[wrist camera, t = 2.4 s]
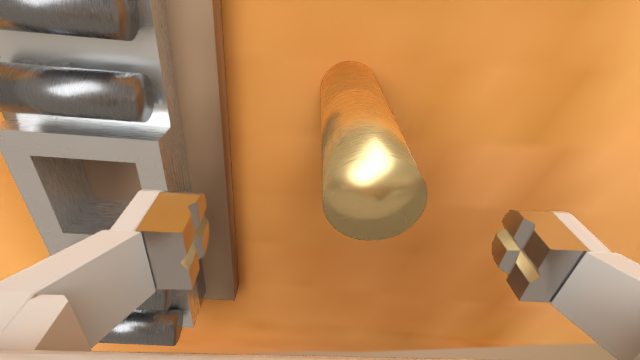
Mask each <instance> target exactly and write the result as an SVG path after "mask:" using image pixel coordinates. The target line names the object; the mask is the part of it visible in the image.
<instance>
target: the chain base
mask: <svg viewBox="0 0 640 360" xmlns="http://www.w3.org/2000/svg"><path fill="white" fill-rule="evenodd" d="M165 5H166V12H167V19H168V26H169V33H170V40H171V47H172V54H173V61H174V68H175V75H176V82H177V89H178V96H179V103H180V110H181V117H182V124H183V131H184V138H185V145H186V152H187V159H188V166H189V173H190V180H191V187H192V192H194V193H203V194H204V195H205V199H206V205H207V207H206V210H205V212H204V216H205V217H206V218H207V219H208V222H209V239H208V245H207V249H206V252H205V255H204V256H203V257H202V264H203V271H204V278H205V285H206V292H205V295H204V298H203V299H218V300H235V298H236V294H237V290H238V285H239V279H238V264H237V248H236V232H235V217H234V201H233V185H232V170H231V154H230V138H229V122H228V107H227V91H226V75H225V60H224V44H223V28H222V13H221V0H165ZM2 114H3V116H4V119H5V121H6V120H7V119H9V118H11V117H13V116H15V115H16V114H15V113H12V112H2ZM81 160H82V163H83V166H84V169H85V171H86V174H87V177H88V180H89V183H90V186H91V189H92V192H93V195H94V198H95V199H105V200H120V201H132V199H133V198H134V197H135V195H136V194H137V193H138V191H140V190H142V188H141V184H140V180H139V175H138V171H137V167H136V163H129V162H115V161H101V160H86V159H81Z"/></svg>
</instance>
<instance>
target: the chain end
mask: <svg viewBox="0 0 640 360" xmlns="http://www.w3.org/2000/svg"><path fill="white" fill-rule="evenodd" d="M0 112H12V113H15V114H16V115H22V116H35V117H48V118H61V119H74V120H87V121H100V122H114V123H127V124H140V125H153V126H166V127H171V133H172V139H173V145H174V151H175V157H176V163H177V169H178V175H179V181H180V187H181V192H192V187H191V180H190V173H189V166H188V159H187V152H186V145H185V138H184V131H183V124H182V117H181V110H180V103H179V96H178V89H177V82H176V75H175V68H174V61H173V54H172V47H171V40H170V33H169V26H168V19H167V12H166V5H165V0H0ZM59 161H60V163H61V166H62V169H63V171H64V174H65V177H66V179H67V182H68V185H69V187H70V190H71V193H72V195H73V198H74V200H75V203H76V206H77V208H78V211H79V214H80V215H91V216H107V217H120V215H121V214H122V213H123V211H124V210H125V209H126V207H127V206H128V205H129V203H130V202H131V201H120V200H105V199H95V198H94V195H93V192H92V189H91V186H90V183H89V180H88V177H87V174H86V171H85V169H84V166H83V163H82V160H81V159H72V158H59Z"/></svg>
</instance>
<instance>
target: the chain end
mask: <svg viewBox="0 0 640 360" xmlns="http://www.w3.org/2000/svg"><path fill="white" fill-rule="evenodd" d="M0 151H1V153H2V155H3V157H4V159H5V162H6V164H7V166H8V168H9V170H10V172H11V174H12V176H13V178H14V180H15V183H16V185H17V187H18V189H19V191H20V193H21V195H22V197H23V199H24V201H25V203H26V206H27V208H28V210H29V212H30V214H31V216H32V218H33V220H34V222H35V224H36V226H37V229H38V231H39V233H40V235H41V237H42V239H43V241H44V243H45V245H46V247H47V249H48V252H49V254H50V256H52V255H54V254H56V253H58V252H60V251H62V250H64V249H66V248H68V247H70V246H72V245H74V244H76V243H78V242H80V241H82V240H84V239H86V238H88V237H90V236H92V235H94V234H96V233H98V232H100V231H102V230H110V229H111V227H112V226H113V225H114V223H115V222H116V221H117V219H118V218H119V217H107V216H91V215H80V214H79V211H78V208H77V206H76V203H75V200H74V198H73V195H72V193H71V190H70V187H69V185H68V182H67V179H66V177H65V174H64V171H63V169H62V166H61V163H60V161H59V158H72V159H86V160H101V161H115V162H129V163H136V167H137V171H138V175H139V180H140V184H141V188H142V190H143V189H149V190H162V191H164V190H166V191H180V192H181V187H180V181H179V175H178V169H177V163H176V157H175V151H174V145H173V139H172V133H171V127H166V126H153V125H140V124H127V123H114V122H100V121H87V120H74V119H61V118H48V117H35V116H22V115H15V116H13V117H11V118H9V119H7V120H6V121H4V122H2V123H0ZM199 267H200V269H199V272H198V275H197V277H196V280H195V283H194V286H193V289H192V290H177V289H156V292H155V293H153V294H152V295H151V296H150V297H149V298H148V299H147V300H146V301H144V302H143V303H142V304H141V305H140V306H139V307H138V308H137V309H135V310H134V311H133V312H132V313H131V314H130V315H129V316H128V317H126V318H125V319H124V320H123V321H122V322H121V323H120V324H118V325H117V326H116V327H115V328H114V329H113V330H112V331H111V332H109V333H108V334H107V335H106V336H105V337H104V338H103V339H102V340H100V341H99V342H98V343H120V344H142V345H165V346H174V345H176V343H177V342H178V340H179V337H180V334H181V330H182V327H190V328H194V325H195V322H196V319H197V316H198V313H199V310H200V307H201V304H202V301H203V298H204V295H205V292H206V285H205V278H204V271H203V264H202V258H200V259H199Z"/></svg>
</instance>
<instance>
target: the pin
mask: <svg viewBox="0 0 640 360" xmlns="http://www.w3.org/2000/svg"><path fill="white" fill-rule="evenodd" d="M321 132H322V181H323V208H324V212H325V215H326V217H327V219H328V221H329V222H330V223H331V225H332V226H333V227H334V228H335V229H337V230H338V231H339V232H341V233H343V234H344V235H347V236H349V237H352V238H355V239H359V240H381V239H386V238H390V237H393V236H395V235H398V234H400V233H402V232H404V231H405V230H407V229H408V228H409V227H411V226H412V225H413V224H414V223H415V222H416V221H417V220H418V219H419V217H420V216H421V214H422V213H423V211H424V208H425V206H426V202H427V188H426V184H425V182H424V179H423V177H422V175H421V173H420V171H419V169H418V167H417V165H416V163H415V160H414V158H413V156H412V154H411V152H410V150H409V148H408V146H407V144H406V142H405V139H404V137H403V135H402V133H401V131H400V129H399V127H398V125H397V123H396V121H395V118H394V116H393V114H392V112H391V110H390V108H389V106H388V104H387V102H386V100H385V97H384V95H383V93H382V91H381V89H380V87H379V85H378V83H377V81H376V79H375V77H374V75H373V73H372V71H371V70H370V69H369V68H368V67H366V66H365V65H363V64H361V63H359V62H354V61H346V62H341V63H339V64H337V65H335V66H333V67H332V68H331V69H330V70H329V71H328V72H327V73H326V74H325V76H324V78H323V80H322V83H321Z"/></svg>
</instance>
